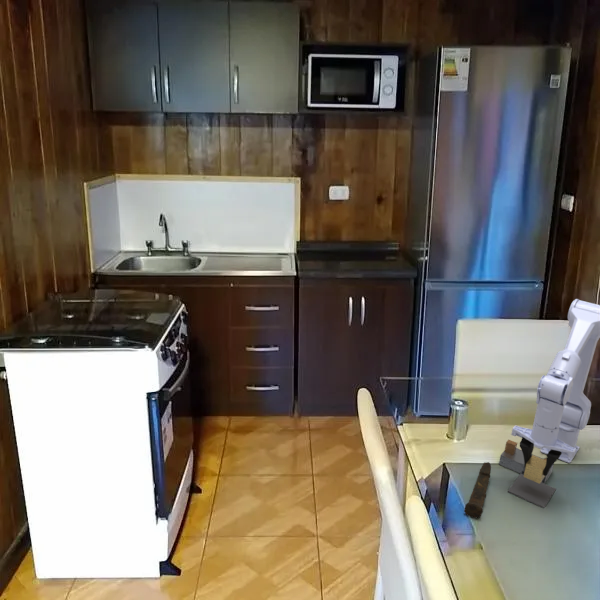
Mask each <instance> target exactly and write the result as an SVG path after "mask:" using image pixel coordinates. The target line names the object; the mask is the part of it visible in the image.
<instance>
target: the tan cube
mask: <svg viewBox="0 0 600 600" xmlns="http://www.w3.org/2000/svg"><path fill="white" fill-rule="evenodd" d="M534 455H535V454H533V455H532V457H531V458H530V459H529V461H528V462H527V463H526V468H525V473H524V477H525V478H528V479H530V480H532V481H535V482H537V483H539V484H540V483H541V482H542V480H543V479H544V477H545V476H544V475H543V474H544V469H545V466H546V460H544V458H542V457H540V456H538V457H536V456H537V455H535V456H534ZM539 457H540V458H539ZM541 458H542V459H541Z"/></svg>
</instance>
